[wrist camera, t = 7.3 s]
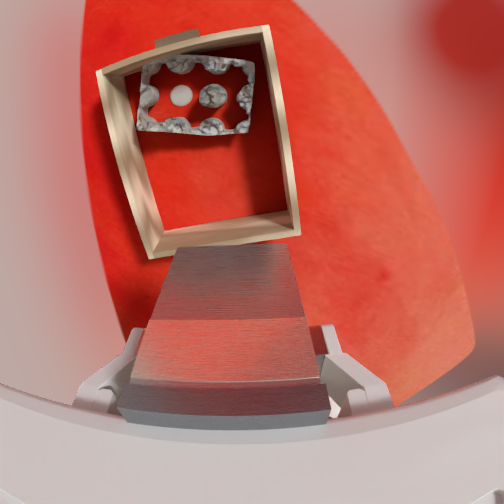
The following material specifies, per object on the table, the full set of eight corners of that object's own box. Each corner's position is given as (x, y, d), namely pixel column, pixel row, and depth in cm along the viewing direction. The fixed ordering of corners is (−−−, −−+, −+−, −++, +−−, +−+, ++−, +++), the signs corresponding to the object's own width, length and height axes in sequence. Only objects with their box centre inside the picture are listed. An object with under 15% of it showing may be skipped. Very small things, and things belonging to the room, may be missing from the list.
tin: (288, 241, 13) (331, 409, 6) (284, 325, 16) (305, 472, 9) (175, 245, 13) (116, 407, 6) (191, 327, 16) (167, 471, 9)
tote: (294, 221, 32) (302, 243, 28) (163, 243, 33) (151, 266, 29) (263, 28, 22) (267, 15, 18) (116, 65, 23) (94, 62, 19)
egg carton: (144, 127, 27) (129, 132, 23) (152, 57, 23) (138, 53, 20) (247, 137, 28) (246, 143, 24) (259, 65, 24) (260, 60, 21)
